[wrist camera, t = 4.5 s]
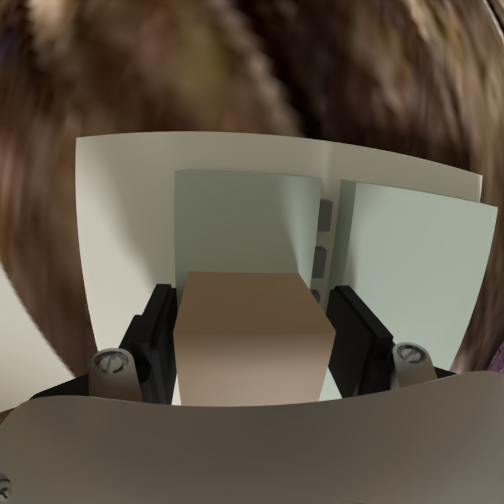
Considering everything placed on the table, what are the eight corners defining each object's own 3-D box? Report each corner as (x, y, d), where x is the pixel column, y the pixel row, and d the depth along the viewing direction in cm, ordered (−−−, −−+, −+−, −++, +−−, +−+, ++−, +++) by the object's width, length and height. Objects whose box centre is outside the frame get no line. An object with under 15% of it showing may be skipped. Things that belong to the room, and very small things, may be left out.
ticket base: (86, 138, 11) (59, 136, 9) (471, 173, 13) (501, 179, 11) (117, 391, 15) (106, 420, 13) (418, 376, 17) (434, 398, 15)
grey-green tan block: (180, 169, 11) (144, 180, 6) (310, 176, 11) (378, 192, 6) (188, 392, 14) (181, 479, 9) (283, 392, 15) (305, 475, 9)
